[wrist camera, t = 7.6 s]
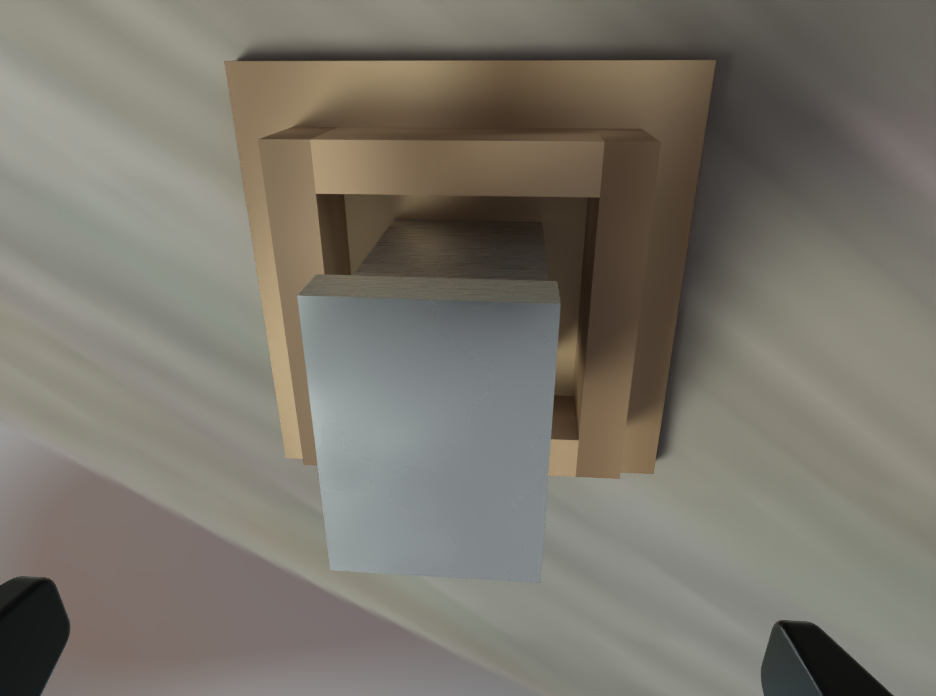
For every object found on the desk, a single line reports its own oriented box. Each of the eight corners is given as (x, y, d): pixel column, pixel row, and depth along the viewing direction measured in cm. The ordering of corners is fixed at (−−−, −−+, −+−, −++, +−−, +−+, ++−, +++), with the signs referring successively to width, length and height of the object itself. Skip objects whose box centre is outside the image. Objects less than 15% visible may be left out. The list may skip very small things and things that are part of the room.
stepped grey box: (543, 191, 17) (560, 303, 9) (533, 379, 19) (540, 583, 12) (393, 188, 17) (297, 295, 10) (401, 374, 19) (330, 569, 12)
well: (709, 59, 15) (749, 62, 13) (650, 462, 21) (669, 525, 18) (234, 60, 16) (177, 64, 14) (291, 447, 22) (258, 505, 19)
